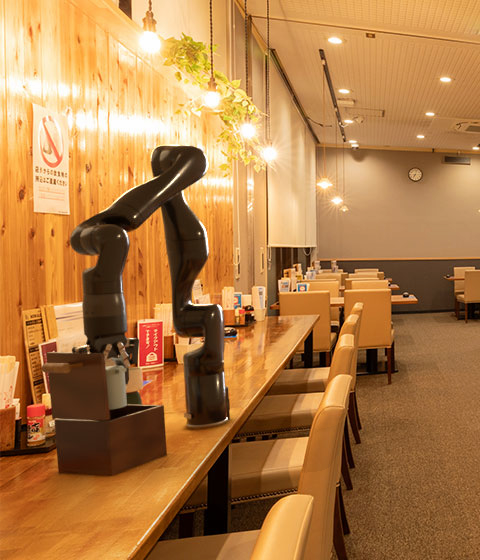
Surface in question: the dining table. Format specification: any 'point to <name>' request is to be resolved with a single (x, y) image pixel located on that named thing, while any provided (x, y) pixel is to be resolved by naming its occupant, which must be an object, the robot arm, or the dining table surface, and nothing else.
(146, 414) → the chest
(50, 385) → the lid
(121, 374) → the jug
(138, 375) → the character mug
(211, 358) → the robot arm
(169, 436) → the dining table surface
